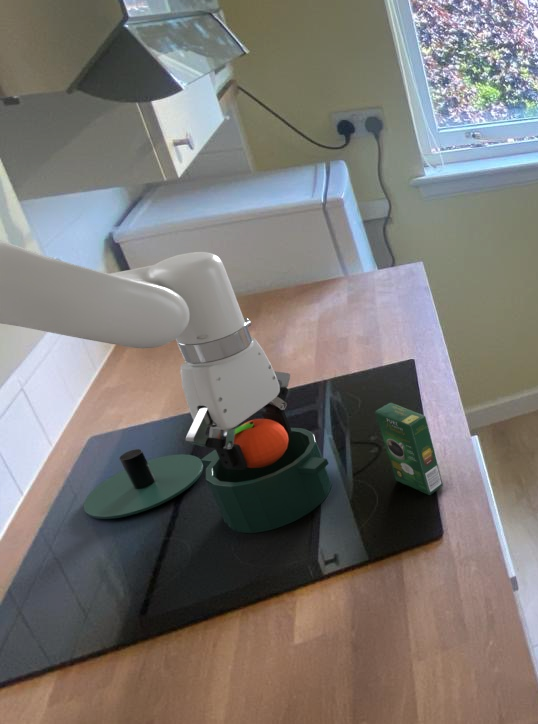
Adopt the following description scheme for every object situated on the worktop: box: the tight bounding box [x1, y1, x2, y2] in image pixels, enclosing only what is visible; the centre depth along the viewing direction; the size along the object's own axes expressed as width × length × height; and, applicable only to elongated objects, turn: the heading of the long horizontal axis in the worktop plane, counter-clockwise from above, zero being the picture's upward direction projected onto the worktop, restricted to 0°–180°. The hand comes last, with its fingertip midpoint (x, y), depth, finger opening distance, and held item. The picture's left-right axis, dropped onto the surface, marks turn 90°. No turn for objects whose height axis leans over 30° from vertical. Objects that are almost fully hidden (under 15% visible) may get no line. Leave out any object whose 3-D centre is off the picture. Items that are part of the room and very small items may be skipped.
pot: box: [200, 427, 332, 534], centre depth 108 cm, size 13×19×8 cm
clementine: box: [234, 418, 289, 468], centre depth 105 cm, size 8×7×7 cm
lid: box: [83, 448, 204, 520], centre depth 111 cm, size 14×14×7 cm
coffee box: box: [374, 402, 444, 496], centre depth 109 cm, size 8×3×13 cm, turn 63°
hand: (259, 449), depth 105 cm, fingers closed on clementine, 7 cm apart
